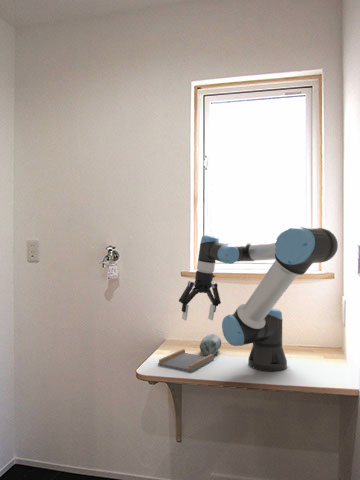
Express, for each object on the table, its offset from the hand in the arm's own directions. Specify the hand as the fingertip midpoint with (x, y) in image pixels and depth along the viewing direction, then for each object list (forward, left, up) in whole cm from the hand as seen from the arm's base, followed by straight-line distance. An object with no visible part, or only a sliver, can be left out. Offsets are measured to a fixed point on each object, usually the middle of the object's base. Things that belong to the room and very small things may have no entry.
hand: (197, 319), depth 165 cm
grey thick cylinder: (-3, -7, -16) cm, 18 cm away
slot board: (-1, +10, -16) cm, 19 cm away
